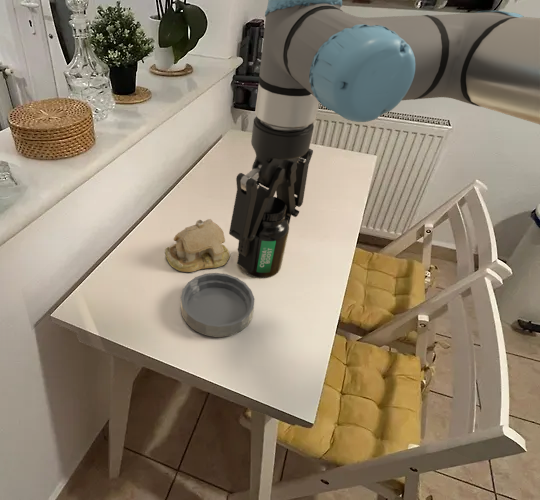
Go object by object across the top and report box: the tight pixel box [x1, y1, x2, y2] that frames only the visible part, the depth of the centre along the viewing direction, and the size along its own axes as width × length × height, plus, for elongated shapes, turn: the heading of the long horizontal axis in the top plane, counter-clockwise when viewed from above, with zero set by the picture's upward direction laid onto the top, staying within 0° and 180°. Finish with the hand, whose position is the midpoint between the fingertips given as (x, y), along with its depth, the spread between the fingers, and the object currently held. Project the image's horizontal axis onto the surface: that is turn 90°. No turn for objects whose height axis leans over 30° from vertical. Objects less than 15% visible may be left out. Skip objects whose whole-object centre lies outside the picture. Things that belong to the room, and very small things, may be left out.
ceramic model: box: [164, 218, 231, 273], centre depth 95 cm, size 14×11×10 cm
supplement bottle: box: [239, 196, 290, 279], centre depth 66 cm, size 7×7×12 cm
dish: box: [180, 272, 255, 338], centre depth 85 cm, size 14×14×4 cm
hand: (261, 255), depth 69 cm, fingers closed on supplement bottle, 7 cm apart
